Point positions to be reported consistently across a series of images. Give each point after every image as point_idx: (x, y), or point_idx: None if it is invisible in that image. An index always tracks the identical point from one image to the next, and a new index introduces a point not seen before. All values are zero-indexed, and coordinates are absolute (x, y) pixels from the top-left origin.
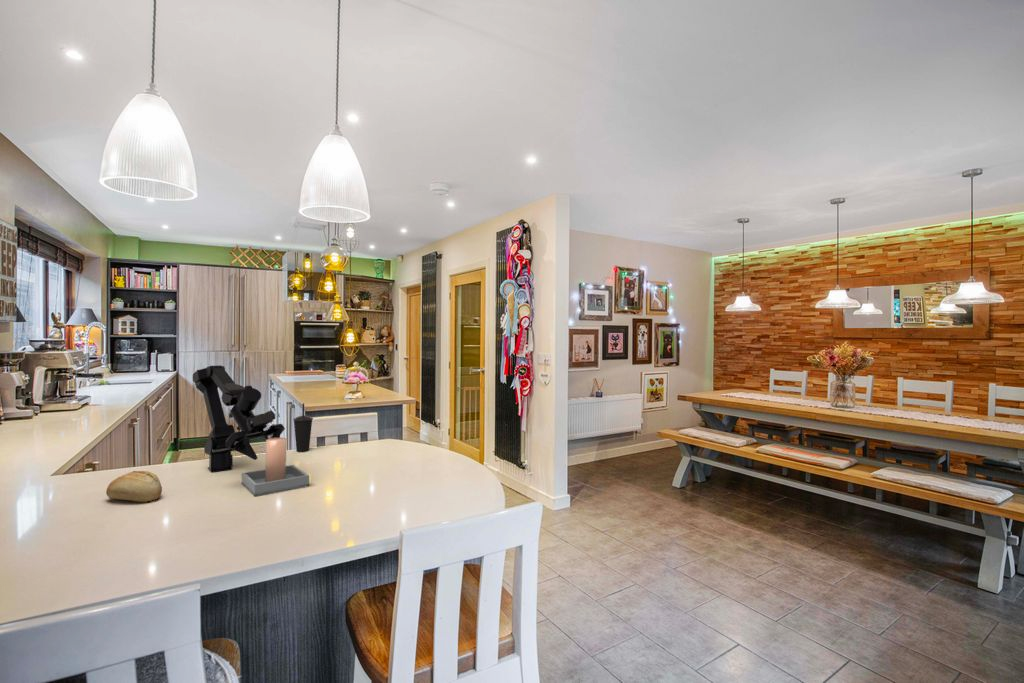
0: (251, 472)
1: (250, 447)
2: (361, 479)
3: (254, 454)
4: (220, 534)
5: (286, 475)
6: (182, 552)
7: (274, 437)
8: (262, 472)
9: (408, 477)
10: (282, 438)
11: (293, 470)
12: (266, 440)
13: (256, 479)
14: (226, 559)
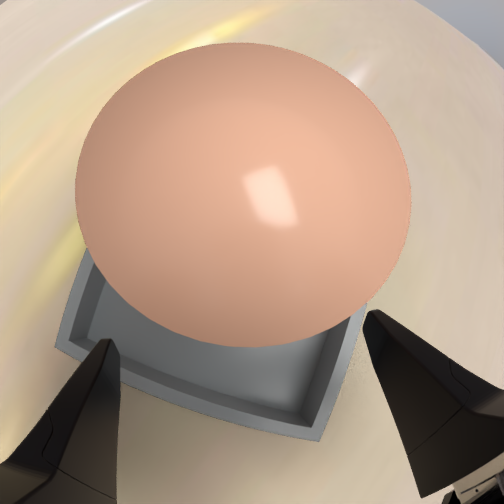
0: (280, 420)
1: (450, 377)
2: (47, 80)
3: (400, 327)
4: (469, 93)
5: (120, 330)
6: (501, 101)
7: (61, 497)
8: (221, 402)
9: (22, 36)
10: (126, 149)
11: (87, 306)
12: (403, 233)
13: (250, 400)
14: (462, 45)
